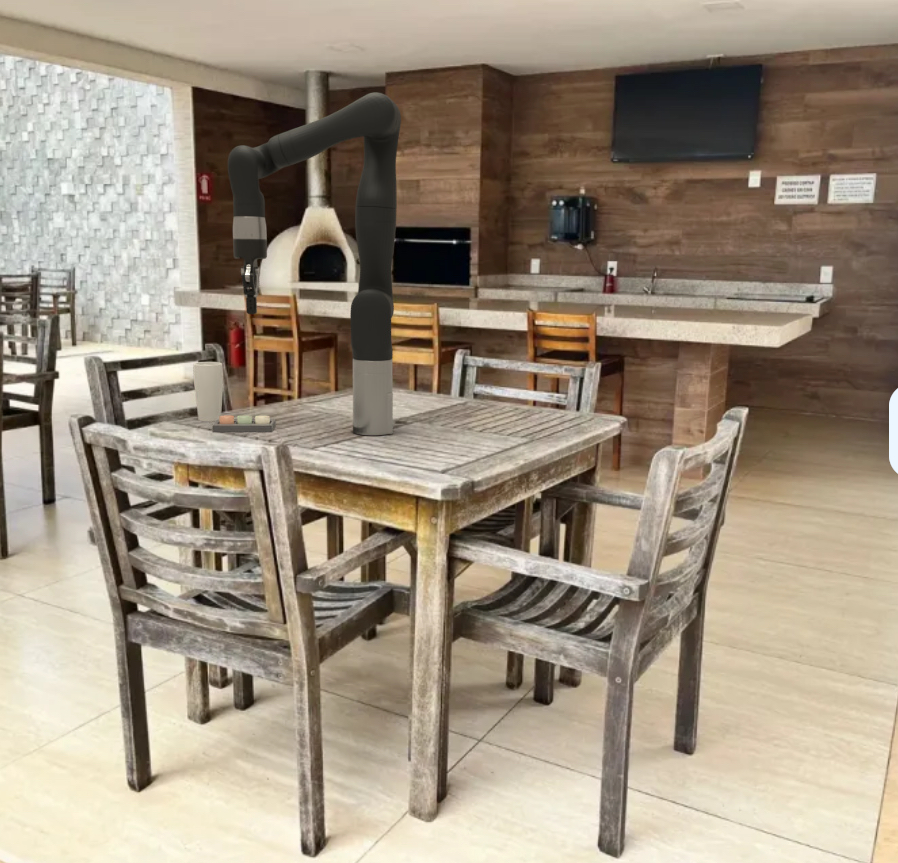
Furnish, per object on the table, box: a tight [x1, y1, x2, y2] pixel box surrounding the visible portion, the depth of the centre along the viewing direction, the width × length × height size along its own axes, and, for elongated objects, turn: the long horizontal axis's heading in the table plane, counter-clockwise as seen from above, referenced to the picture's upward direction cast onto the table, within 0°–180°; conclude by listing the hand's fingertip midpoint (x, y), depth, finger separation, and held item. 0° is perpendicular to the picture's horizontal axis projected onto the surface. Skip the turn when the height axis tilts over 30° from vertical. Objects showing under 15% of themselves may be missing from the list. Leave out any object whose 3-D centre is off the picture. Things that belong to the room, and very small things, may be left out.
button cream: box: [254, 414, 271, 424], centre depth 203 cm, size 3×3×4 cm
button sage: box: [237, 414, 253, 424], centre depth 203 cm, size 3×3×4 cm
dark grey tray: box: [212, 418, 276, 433], centre depth 203 cm, size 13×8×3 cm, turn 95°
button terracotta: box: [219, 414, 235, 424], centre depth 203 cm, size 3×3×4 cm
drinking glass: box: [192, 361, 224, 422], centre depth 213 cm, size 7×7×15 cm
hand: (251, 313), depth 208 cm, fingers closed
